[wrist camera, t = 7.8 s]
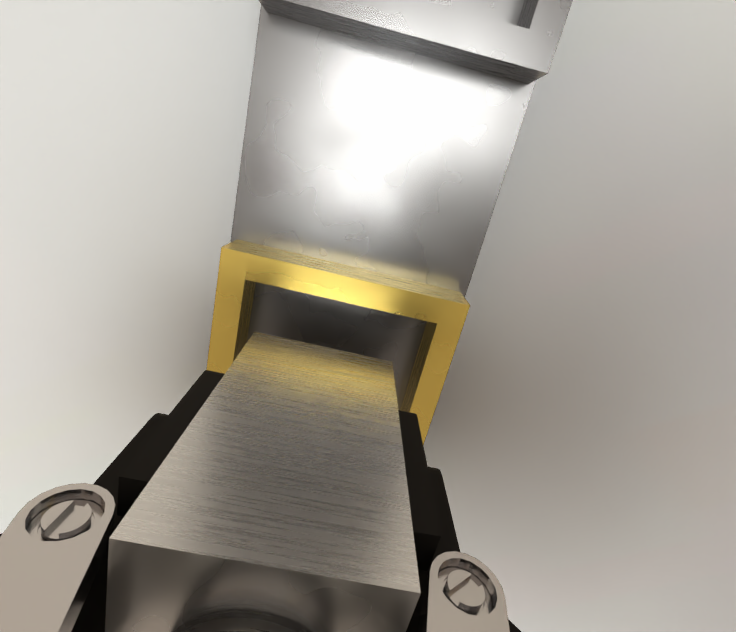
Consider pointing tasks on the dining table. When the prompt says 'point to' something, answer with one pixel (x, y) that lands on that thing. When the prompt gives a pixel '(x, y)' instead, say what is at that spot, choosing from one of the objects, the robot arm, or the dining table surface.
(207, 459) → the knobbed metal block
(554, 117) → the dining table surface
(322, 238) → the grey flat elongated piece
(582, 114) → the dining table surface
